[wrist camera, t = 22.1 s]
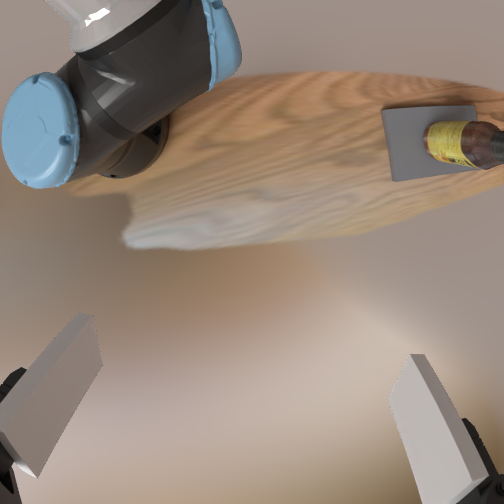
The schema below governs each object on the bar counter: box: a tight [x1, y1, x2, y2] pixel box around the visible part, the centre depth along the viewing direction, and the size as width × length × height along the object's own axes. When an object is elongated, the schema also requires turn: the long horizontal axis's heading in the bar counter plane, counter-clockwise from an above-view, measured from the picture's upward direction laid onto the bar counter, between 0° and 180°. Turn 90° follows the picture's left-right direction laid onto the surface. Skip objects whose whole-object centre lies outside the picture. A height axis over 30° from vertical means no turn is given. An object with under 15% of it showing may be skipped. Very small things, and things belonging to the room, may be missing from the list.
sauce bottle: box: [423, 121, 504, 170], centre depth 31 cm, size 6×6×20 cm
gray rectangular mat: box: [381, 105, 480, 182], centre depth 41 cm, size 18×11×2 cm, turn 103°
